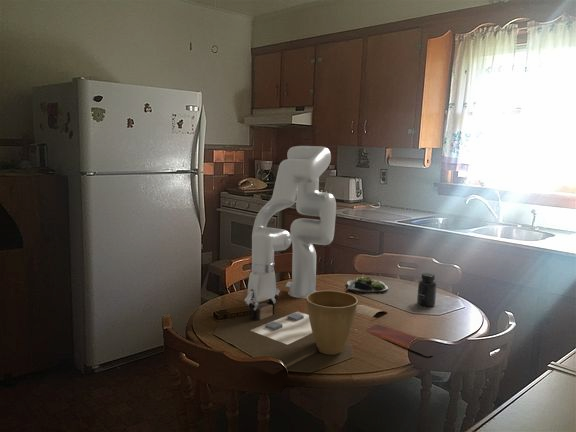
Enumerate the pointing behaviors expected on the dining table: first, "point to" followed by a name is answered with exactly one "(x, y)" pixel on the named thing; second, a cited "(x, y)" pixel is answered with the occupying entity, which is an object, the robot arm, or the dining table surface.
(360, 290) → the salad plate
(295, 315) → the graphite mark
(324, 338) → the plant pot
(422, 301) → the supplement bottle
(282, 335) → the white flat rectangle
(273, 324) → the graphite mark
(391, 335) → the wooden tablet
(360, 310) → the clay tablet
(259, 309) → the sanding block
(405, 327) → the dining table surface
